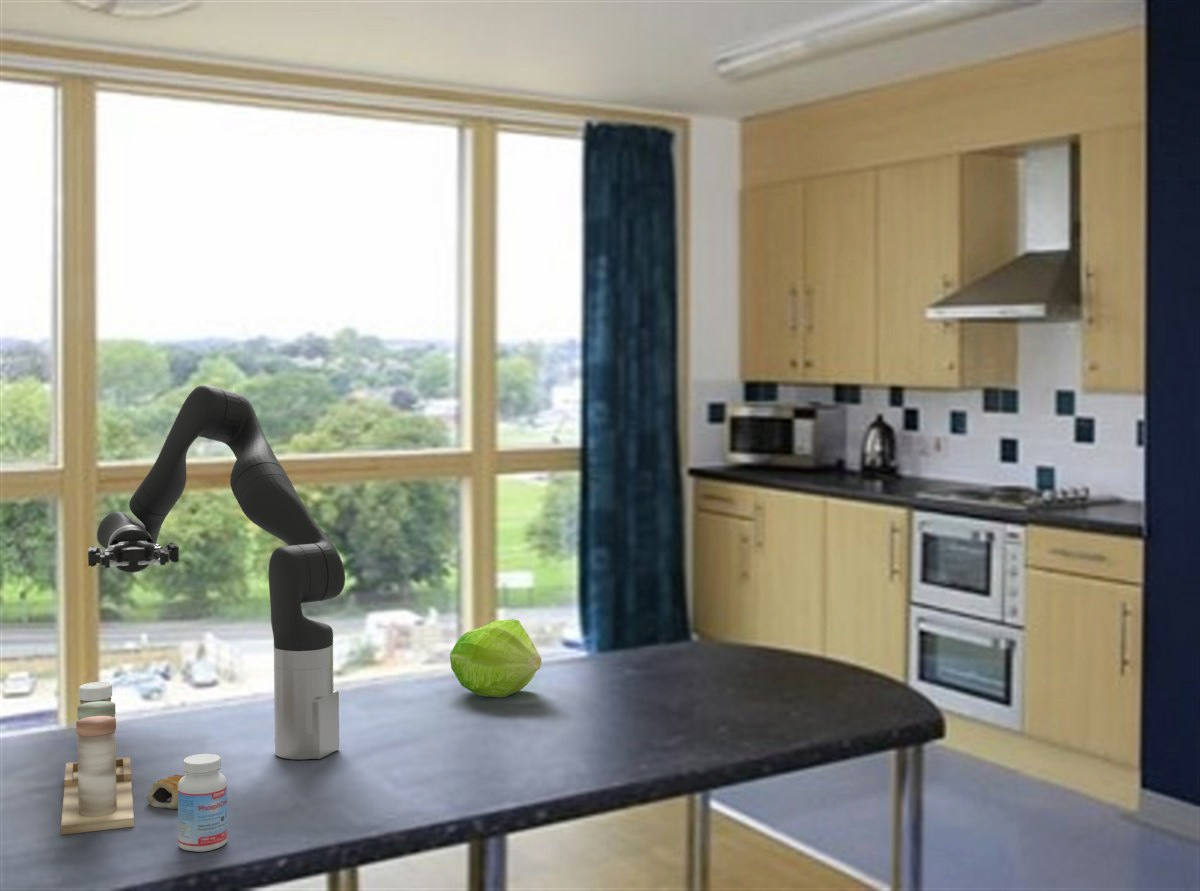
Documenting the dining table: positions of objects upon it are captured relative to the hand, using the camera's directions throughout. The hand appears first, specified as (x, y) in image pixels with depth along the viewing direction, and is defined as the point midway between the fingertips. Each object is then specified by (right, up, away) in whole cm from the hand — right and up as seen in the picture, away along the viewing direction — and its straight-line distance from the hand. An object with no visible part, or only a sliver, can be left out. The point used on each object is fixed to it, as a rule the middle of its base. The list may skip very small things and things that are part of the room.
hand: (135, 560), depth 215 cm
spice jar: (+1, -30, -20) cm, 36 cm away
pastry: (+16, -32, -27) cm, 45 cm away
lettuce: (+56, -28, +33) cm, 71 cm away
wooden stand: (+4, -32, -28) cm, 42 cm away
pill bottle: (+24, -33, -45) cm, 61 cm away
